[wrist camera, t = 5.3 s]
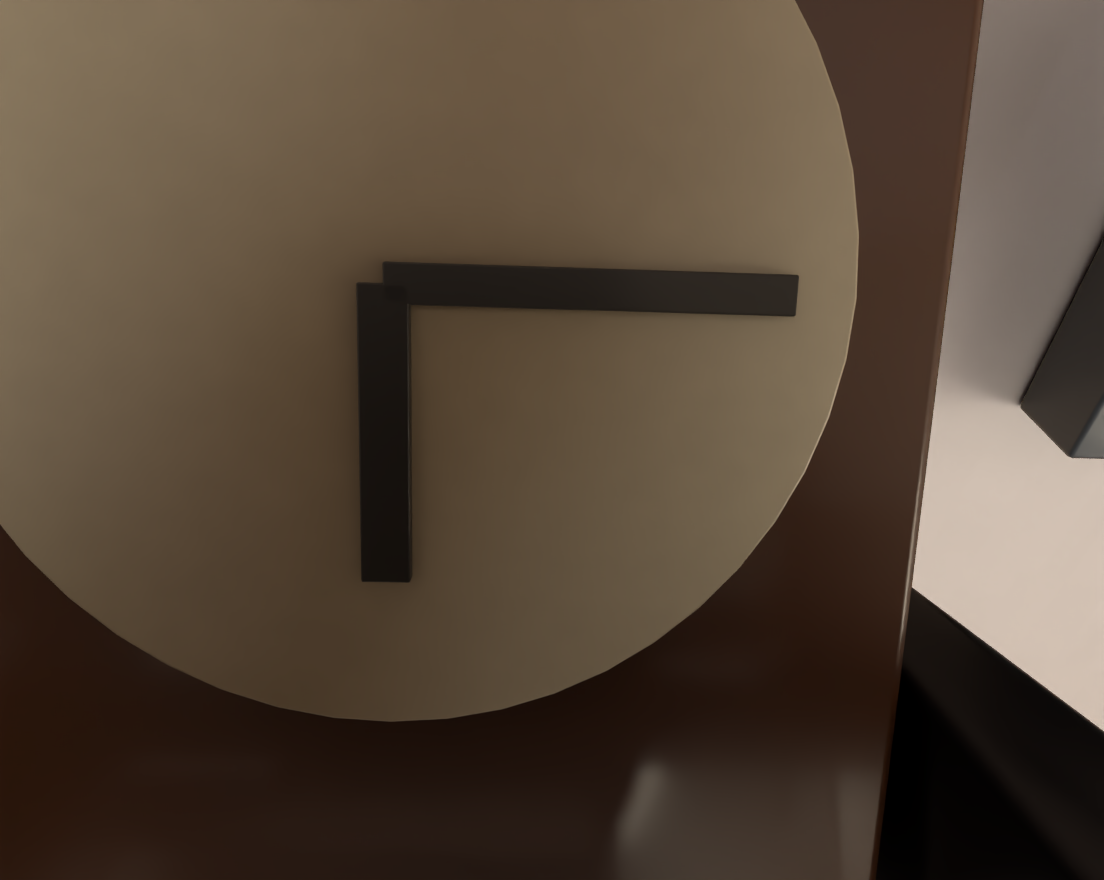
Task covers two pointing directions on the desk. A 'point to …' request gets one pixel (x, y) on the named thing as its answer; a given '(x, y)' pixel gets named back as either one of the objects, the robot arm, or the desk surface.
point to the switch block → (1074, 374)
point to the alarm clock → (465, 431)
